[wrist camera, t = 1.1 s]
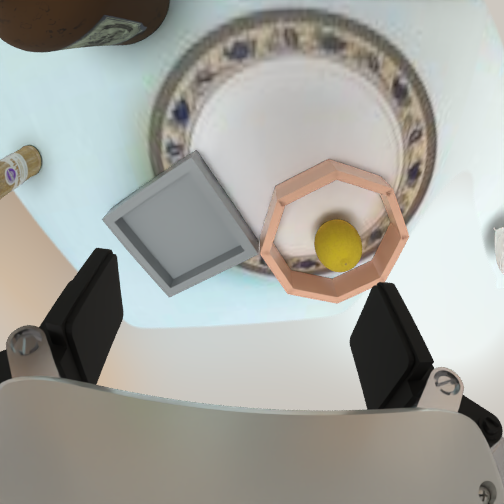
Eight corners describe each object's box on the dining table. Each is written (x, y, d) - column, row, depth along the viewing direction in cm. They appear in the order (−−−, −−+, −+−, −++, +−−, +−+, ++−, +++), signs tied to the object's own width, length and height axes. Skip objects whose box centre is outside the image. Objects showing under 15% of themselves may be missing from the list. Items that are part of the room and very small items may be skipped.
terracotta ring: (365, 140, 34) (377, 150, 31) (407, 249, 42) (417, 265, 39) (239, 205, 39) (237, 220, 36) (301, 298, 47) (304, 317, 44)
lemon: (347, 248, 42) (362, 285, 36) (307, 245, 42) (315, 283, 35) (356, 211, 39) (375, 244, 33) (314, 206, 39) (325, 240, 32)
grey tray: (196, 150, 35) (191, 157, 33) (258, 241, 42) (258, 254, 39) (110, 208, 39) (101, 219, 37) (173, 283, 46) (169, 297, 43)
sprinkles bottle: (47, 166, 36) (-15, 212, 25) (27, 180, 37) (-32, 226, 26) (33, 138, 34) (-34, 176, 22) (14, 153, 34) (-50, 193, 23)
